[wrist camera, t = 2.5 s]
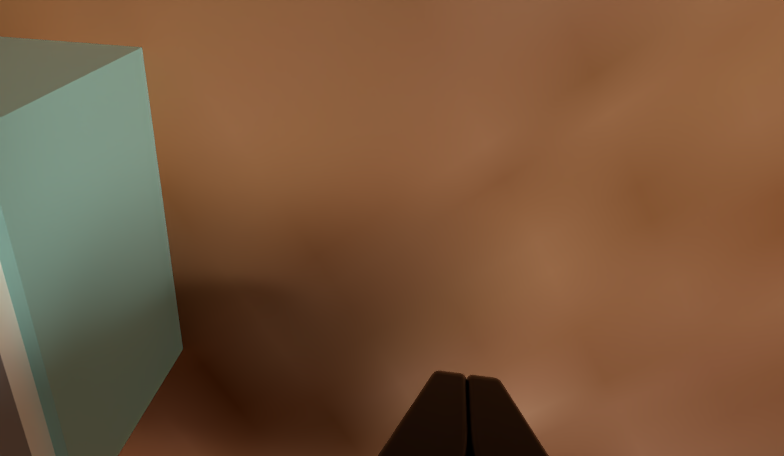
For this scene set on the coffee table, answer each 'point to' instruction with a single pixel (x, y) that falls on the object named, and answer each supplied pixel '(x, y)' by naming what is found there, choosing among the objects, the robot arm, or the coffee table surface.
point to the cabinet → (79, 250)
